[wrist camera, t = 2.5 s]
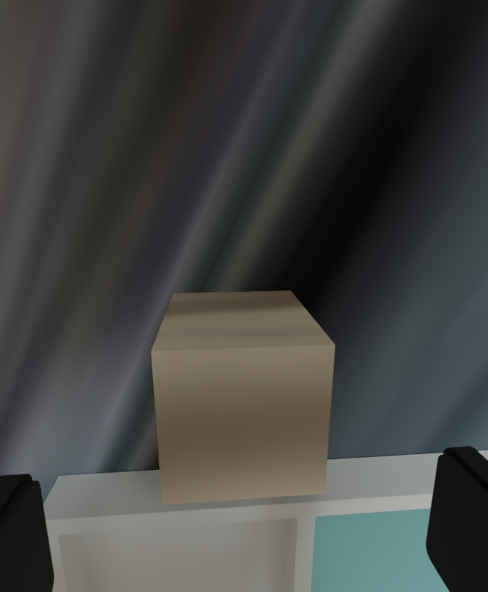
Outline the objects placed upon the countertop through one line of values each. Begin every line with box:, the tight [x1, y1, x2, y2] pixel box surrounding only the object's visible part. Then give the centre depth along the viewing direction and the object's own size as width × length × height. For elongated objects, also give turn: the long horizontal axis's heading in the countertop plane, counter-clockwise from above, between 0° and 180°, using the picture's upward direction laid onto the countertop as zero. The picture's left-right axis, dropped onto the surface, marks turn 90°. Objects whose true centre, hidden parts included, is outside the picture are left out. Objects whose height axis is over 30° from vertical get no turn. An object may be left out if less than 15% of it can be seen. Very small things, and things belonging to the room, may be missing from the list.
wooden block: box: [151, 291, 335, 505], centre depth 14 cm, size 5×5×6 cm
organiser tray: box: [43, 450, 488, 592], centre depth 19 cm, size 12×22×2 cm, turn 90°
